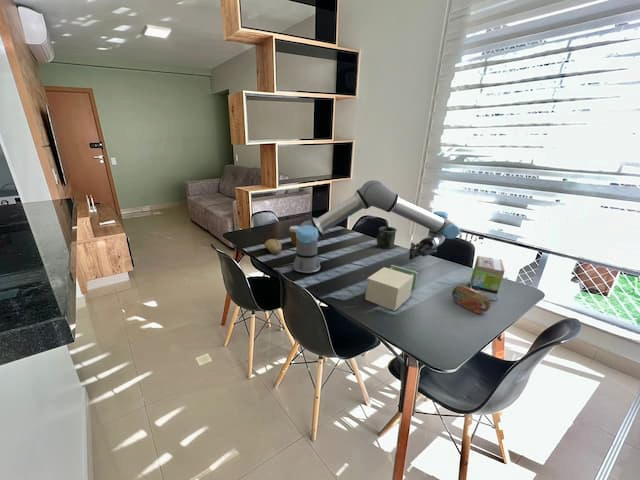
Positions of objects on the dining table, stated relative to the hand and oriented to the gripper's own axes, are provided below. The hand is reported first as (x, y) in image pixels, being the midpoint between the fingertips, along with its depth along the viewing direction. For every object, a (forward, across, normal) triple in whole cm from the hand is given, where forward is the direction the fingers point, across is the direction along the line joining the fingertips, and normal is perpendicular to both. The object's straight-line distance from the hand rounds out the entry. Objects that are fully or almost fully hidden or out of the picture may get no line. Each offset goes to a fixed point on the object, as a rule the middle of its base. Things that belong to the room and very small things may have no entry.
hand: (410, 256), depth 139 cm
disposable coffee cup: (-5, +79, -14) cm, 80 cm away
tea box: (-15, -29, -14) cm, 36 cm away
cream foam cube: (+21, 0, -14) cm, 25 cm away
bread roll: (+15, +81, -14) cm, 83 cm away
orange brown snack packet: (+5, -28, -14) cm, 32 cm away
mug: (-40, +32, -14) cm, 53 cm away
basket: (+11, 0, -13) cm, 17 cm away
